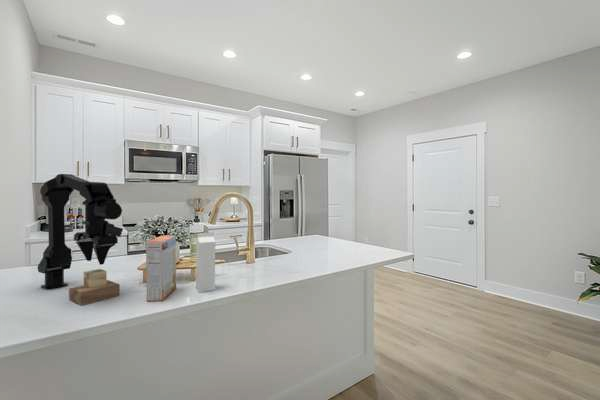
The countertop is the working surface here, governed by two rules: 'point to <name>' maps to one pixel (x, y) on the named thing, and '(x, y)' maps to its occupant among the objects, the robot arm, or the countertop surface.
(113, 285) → the walnut box
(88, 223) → the robot arm
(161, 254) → the cracker box
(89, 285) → the oak cube
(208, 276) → the milk
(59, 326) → the countertop surface
